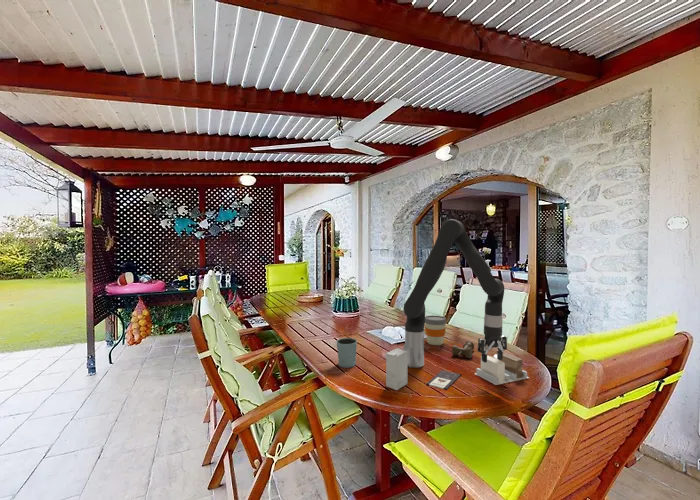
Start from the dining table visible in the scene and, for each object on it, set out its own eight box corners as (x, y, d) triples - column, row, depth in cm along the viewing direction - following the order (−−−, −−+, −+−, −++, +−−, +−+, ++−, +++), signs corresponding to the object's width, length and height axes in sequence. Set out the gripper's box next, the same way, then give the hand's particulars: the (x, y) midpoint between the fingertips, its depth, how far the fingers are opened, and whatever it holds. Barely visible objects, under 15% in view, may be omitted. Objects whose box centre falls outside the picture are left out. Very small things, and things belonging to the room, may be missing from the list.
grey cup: (360, 363, 175) (360, 339, 175) (350, 369, 167) (350, 345, 166) (343, 359, 181) (343, 336, 180) (332, 366, 172) (332, 342, 171)
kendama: (478, 352, 192) (467, 362, 175) (461, 349, 197) (449, 358, 181) (478, 341, 192) (467, 350, 175) (461, 338, 197) (449, 347, 181)
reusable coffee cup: (447, 346, 200) (447, 320, 199) (425, 345, 202) (425, 320, 201) (444, 339, 212) (444, 315, 212) (423, 339, 214) (423, 315, 214)
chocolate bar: (461, 374, 159) (446, 388, 144) (461, 376, 159) (446, 390, 144) (442, 370, 164) (426, 383, 150) (442, 372, 164) (426, 385, 150)
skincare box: (396, 380, 154) (396, 347, 153) (408, 384, 150) (408, 350, 149) (385, 386, 148) (385, 352, 147) (397, 391, 144) (396, 355, 143)
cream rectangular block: (497, 382, 149) (497, 364, 148) (480, 373, 158) (480, 356, 158) (504, 380, 150) (504, 362, 150) (487, 372, 160) (487, 355, 159)
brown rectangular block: (515, 378, 152) (515, 360, 152) (498, 370, 162) (498, 353, 161) (522, 377, 154) (522, 359, 153) (504, 369, 163) (504, 352, 163)
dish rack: (495, 387, 146) (495, 379, 146) (474, 375, 158) (474, 368, 158) (529, 379, 153) (529, 372, 153) (506, 369, 165) (506, 362, 165)
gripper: (486, 328, 147) (485, 365, 148) (512, 325, 152) (511, 361, 153) (474, 323, 154) (473, 359, 155) (499, 320, 159) (498, 355, 160)
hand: (492, 360), depth 154 cm, fingers open, 8 cm apart
